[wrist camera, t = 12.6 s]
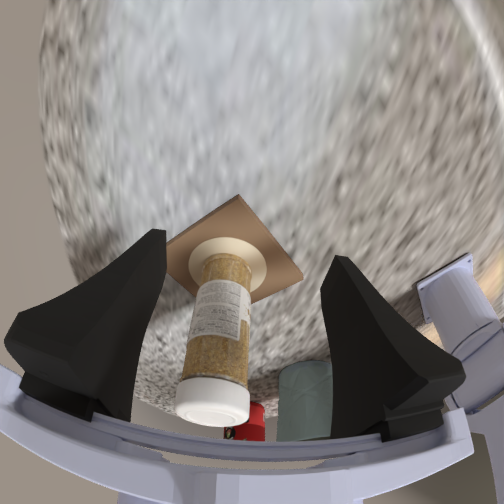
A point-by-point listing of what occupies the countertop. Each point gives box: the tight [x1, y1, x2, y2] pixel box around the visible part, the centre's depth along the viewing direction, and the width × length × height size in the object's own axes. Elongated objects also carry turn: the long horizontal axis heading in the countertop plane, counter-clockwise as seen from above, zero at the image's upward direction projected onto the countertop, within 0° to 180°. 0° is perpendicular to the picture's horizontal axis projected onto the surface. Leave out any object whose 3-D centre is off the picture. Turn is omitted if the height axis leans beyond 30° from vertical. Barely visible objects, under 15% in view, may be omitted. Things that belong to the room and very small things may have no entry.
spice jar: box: [174, 253, 252, 427], centre depth 19 cm, size 5×5×14 cm
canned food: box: [223, 401, 265, 442], centre depth 44 cm, size 8×8×11 cm
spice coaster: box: [166, 194, 303, 304], centre depth 25 cm, size 10×10×1 cm
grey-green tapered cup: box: [276, 360, 333, 442], centre depth 34 cm, size 10×10×12 cm
